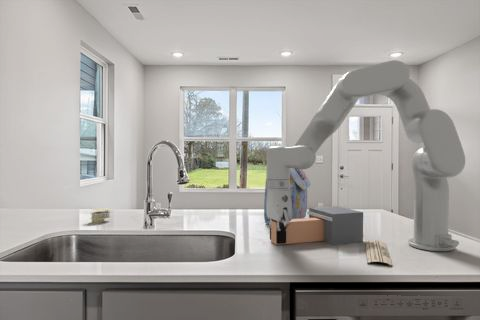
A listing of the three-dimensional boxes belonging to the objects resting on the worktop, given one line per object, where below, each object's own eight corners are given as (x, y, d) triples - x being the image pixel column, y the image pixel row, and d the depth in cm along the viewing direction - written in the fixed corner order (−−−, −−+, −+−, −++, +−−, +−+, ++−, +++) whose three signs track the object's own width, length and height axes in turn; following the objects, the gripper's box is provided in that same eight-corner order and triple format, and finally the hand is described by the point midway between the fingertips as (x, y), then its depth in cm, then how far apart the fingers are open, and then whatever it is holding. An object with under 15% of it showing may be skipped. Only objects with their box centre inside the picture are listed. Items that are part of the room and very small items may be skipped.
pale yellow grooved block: (98, 225, 140) (98, 211, 140) (83, 223, 144) (83, 210, 144) (117, 221, 148) (117, 208, 148) (103, 219, 153) (103, 207, 153)
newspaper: (365, 244, 113) (365, 239, 113) (388, 246, 111) (388, 241, 111) (367, 267, 91) (367, 260, 91) (396, 270, 89) (396, 263, 89)
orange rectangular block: (325, 240, 116) (325, 219, 115) (276, 245, 109) (276, 222, 109) (318, 237, 119) (318, 217, 119) (270, 241, 113) (271, 220, 113)
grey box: (362, 241, 115) (363, 212, 115) (330, 244, 110) (330, 214, 110) (337, 232, 128) (337, 206, 128) (307, 235, 124) (307, 207, 123)
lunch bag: (302, 228, 135) (302, 160, 135) (261, 224, 142) (261, 159, 141) (312, 218, 156) (313, 159, 156) (276, 215, 163) (276, 159, 162)
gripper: (301, 186, 105) (301, 247, 105) (277, 182, 121) (276, 234, 121) (279, 187, 102) (279, 249, 103) (257, 182, 118) (256, 236, 118)
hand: (277, 240), depth 112 cm, fingers closed on orange rectangular block, 4 cm apart
